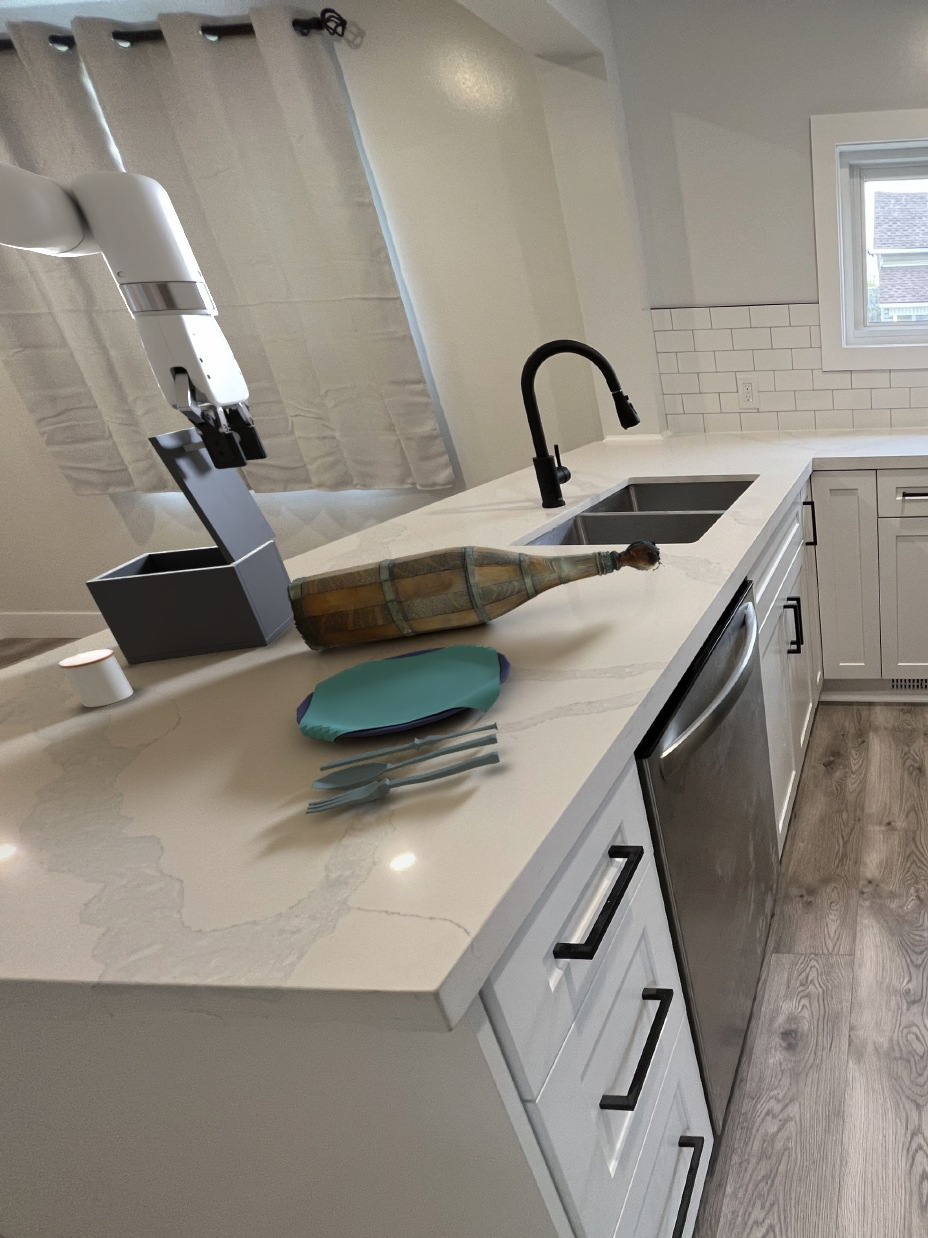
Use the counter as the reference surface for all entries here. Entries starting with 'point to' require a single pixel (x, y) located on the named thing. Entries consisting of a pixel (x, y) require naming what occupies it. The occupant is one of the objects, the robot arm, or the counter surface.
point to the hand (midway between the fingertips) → (242, 461)
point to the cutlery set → (401, 714)
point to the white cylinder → (97, 677)
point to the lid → (214, 494)
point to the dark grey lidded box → (194, 602)
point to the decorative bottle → (438, 590)
